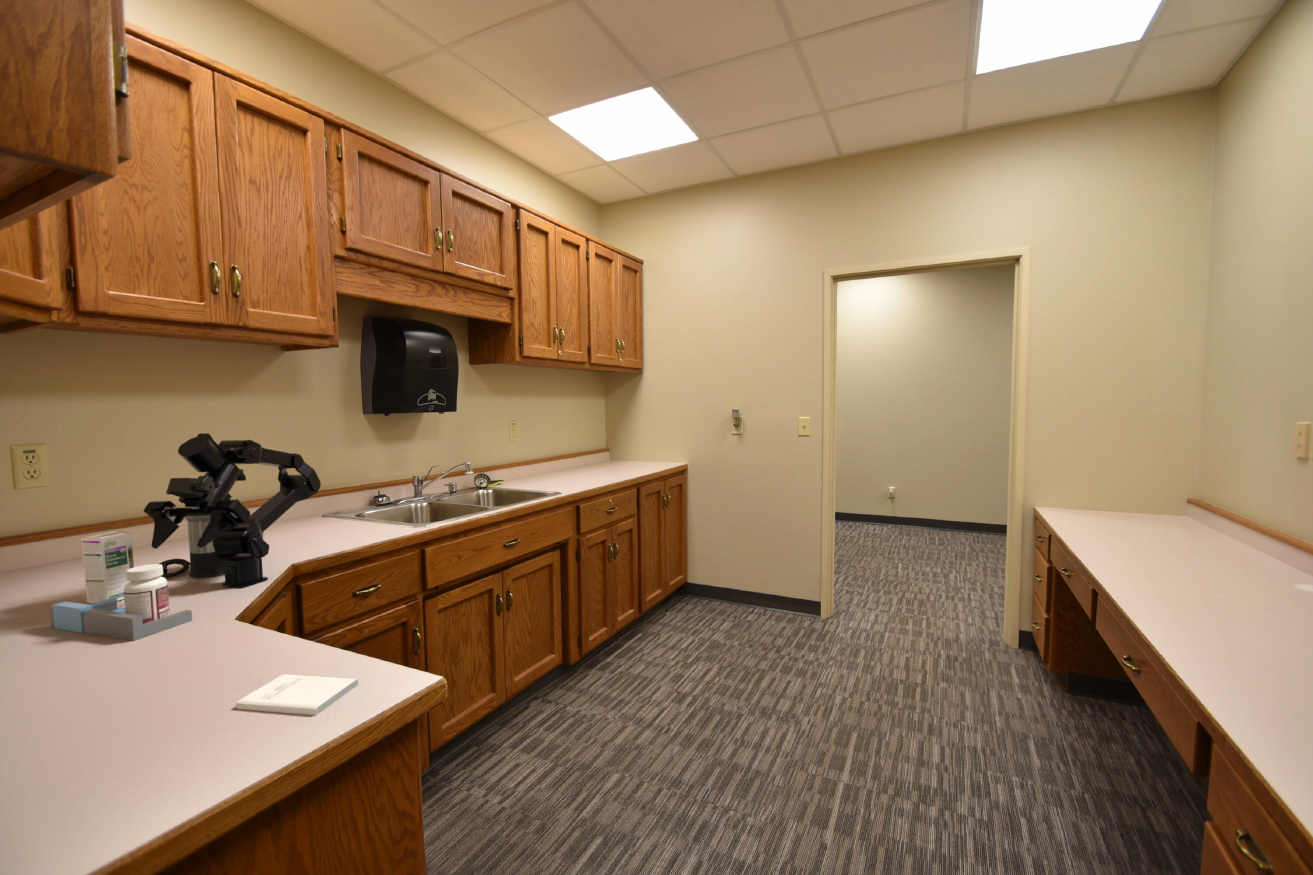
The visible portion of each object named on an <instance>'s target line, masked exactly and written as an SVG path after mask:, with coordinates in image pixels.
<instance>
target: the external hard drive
mask: <svg viewBox="0 0 1313 875" xmlns="http://www.w3.org/2000/svg"><path fill="white" fill-rule="evenodd" d="M358 686H359V679H357V678H346V677H345V678H344V677H332V676H331V677H330V676H329V677H328V676H327V677H326V676H313V675H297V674H296V675H295V674H287V673H286V674H282V675H279V676H277V677H276V678H275V679H272V680H271V681H270V682H267V683H266V684H264V685H262V686H261V687H260V688H258V689H256V690H254V691H252V692H251V693H248V694H247V695H245V696H244V697H242V698H240V699H239V700H238V701H237V702H236V703H235V704H236V705H235V706H236V710H237V709H239V710H250V711H257V712H258V711H259V712H260V711H261V712H273V713H281V714H295V715H307V716H317V715H318V714H321V713H322V712H323V711H324V710H326V709H327V708H329V707H330V706H331V705H333V704H334V703H335V702H337V701H338V700H339V699H341V698H342V697H344V696H345V695H347V694H348V693H349V692H351V691H352V690H354V689H355V688H356V687H358Z"/></svg>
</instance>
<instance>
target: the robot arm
mask: <svg viewBox="0 0 1313 875" xmlns="http://www.w3.org/2000/svg"><path fill="white" fill-rule="evenodd" d="M177 453H178V454H179V456H181V457H182V458H183V459H184V460H185V461H186V462H187V463H188V464H189V465H190V467H192V469H194V470H195V471H196V472H198V473H204V474H203V475H199V476H198V477H197V478H195V477H194V478H193V477H171V478H170V479H169V483H168V485H167V489H166V491H165V494H167V495H173V496H176V497H179V498H178V501H179V502H180V503H181V504H184V506H178V505H176V504H175V503H174V502H172V501H171V500H153V501H148V503H147V505H146V506H144V509H143V510H142V512H144V513H146V515H147V516H149V517H150V518H151V519H152V520H153V524H154V525H153V534H152V540H151V548H153V549H155V550H156V549H158V548H160V547H161V546H162V545H163V543H165V542H166V540H168V539H169V538H170V537H172V535H173V534H174V533H175V532H176V531H177V530H178V529H179V528H180V525H179V524H181V523H182V522H183V520H184V519H185V517H190V516H199V517H210V522H209V523H208V525H207V527H206V529H205V531H204V532H203V534H202V536H201V538H200V540H199V542H198V544H197V546H198V547H200V548H202V547H204V546H205V545H207V544H208V543H210V542H211V541H213V542H212V543H213V547H214V549H215V552H216V554H217V557H218V559H219V560H226V559H228V560H226V567H225V568H224V572H225V574H224V581H225V582H223V583H222V585H221V586H223V587H232V588H233V587H234V588H239V589H240V588H245V587H248V586H251V585H254V584H257V583H260V582H264V581H268V579H269V578H268V577H269V576H264V572H263V558H265V557H266V556H267V555H269V550H270V544H269V543H267V542H266V541H265V539H264V532H265V531H266V530H268V529H269V528H270V527H271V526H272V525H273V524H274V523H275V522H276V521H277V520H279V519H280V517H282V516H283V515H284V514H285V513H286V512H287V511H288V510H290V509H291V508H293V506H295V504H296V503H298V502H301V501H304V500H307V499H311V498H312V497H314V496H315V495H317V494H318V492H319V490H320V488H321V484H322V483H321V480H320V478H319V475H318V473H317V472H316V470H315V469H314V468H313V467H312V466H310V465H309V464H308V463H307V462H306V461H305V460H304V458H303V457H302V455H301V454H299V453H296V452H295V453H292V452H286V451H280V450H276V449H270V448H265V447H263V446H262V444H261V443H259V442H256V441H254V440H251V439H233V440H232V439H230V440H229V439H227V440H226V439H222V440H220V442H219V443H217V442H216V441H215V440H214V438H213V436H211V434H210V433H201V432H200V433H198V434H197V436H196V437H192V438H190V439H188V440H186V441H185V442H184V443H181V444H180V445H179V447H178V449H177ZM253 464H254V465H257V464H258V465H261V466H262V465H263V466H270V467H276V468H278V474H277V480H278V482H279V491H278V492H276V493H275V494H274V495H273V496H272V497H270V498H269V499H268V500H267V501H266V502H265V503H263V504H262V505H261V506H259V507H258V508H257V509H256V510H255V511H254V512H252V513H251V511H250V510H249V509H248V508H247V507H246V506H245V505H244V504H243V503H242V502H241V500H239V499H232V497H233V496H232V495H231V494H230V491H232V488H233V487H234V485H235V483H236V482H238V481H239V482H241V481H242V482H244V481H247V476H246V474H245V472H244V469H242V468H239V467H238V465H253ZM288 469H295V471H296V472H298V473H299V474H289V473H288Z"/></svg>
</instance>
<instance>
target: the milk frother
mask: <svg viewBox="0 0 1313 875" xmlns="http://www.w3.org/2000/svg"><path fill="white" fill-rule="evenodd" d="M185 520H186V521H187V535H188V537H187V538H188V549H189V561H188V560H187V559H184V558H171V559H167V560H163V561H161V562H159V563H158V564H161V565H162V566H163V575H161V576H160V577H164V578H165V579H170V578H175V577H179V576H182V575H183V574H185V573H186V572H188V570H190V571H189V572H190V573H189V574H188V577H189V578H193V579H205V578H213V577H219V576H223V575H225V572H224V568H225V567H226V560H228V559H226V560H219V559H218V557H217V554H216V552H215V549H214V547H213V543H212V542H213V541H211V542H210V543H208V544H207V545H205V546H204V547H202V548H200V547H198V546H197V544H198V542H199V540H200V538H201V536H202V534H203V532H204V531H205V529H206V527H207V525H208V523H209V522H210V517H199V516H186V517H185ZM171 565H180V566H182V568H180V569H178V570H176V571H173V572H169V573H168V566H171Z"/></svg>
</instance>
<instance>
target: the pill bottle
mask: <svg viewBox="0 0 1313 875" xmlns="http://www.w3.org/2000/svg"><path fill="white" fill-rule="evenodd" d="M161 575H163V566H162V565H161V564H159V563H153V564H150V563H149V564H144V565H139V566H138V565H137V566H134V568H130V569H128V570H127V571H126V580H127V581H130V582H129V583H128V584H126V586H125V587H124V599H123V600H124V607H125V612H126V613H127V614H134V615H141V616H142V619H143V624H144V623H147V622H150V621H153V620H156V619H159V618H162V617H165V616H169V615H171V610H170V598H169V597H170V596H169V584H168V580H167V578H164V577H160V576H161Z"/></svg>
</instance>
